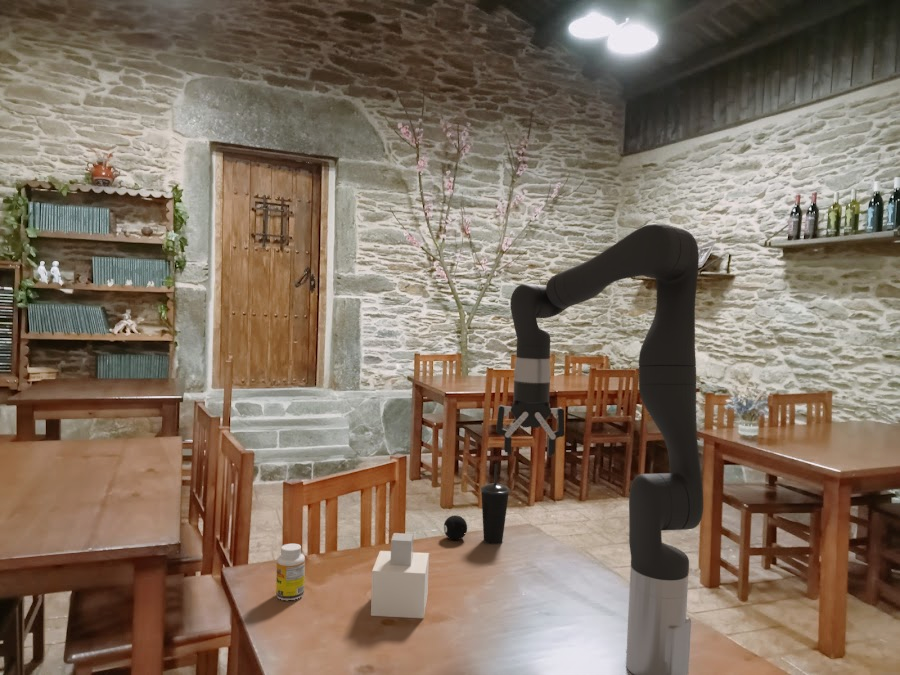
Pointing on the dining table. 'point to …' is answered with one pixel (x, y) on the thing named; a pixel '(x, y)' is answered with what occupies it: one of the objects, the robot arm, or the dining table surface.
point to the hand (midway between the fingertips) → (528, 455)
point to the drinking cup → (494, 510)
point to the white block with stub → (400, 580)
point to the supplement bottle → (290, 572)
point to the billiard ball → (455, 527)
